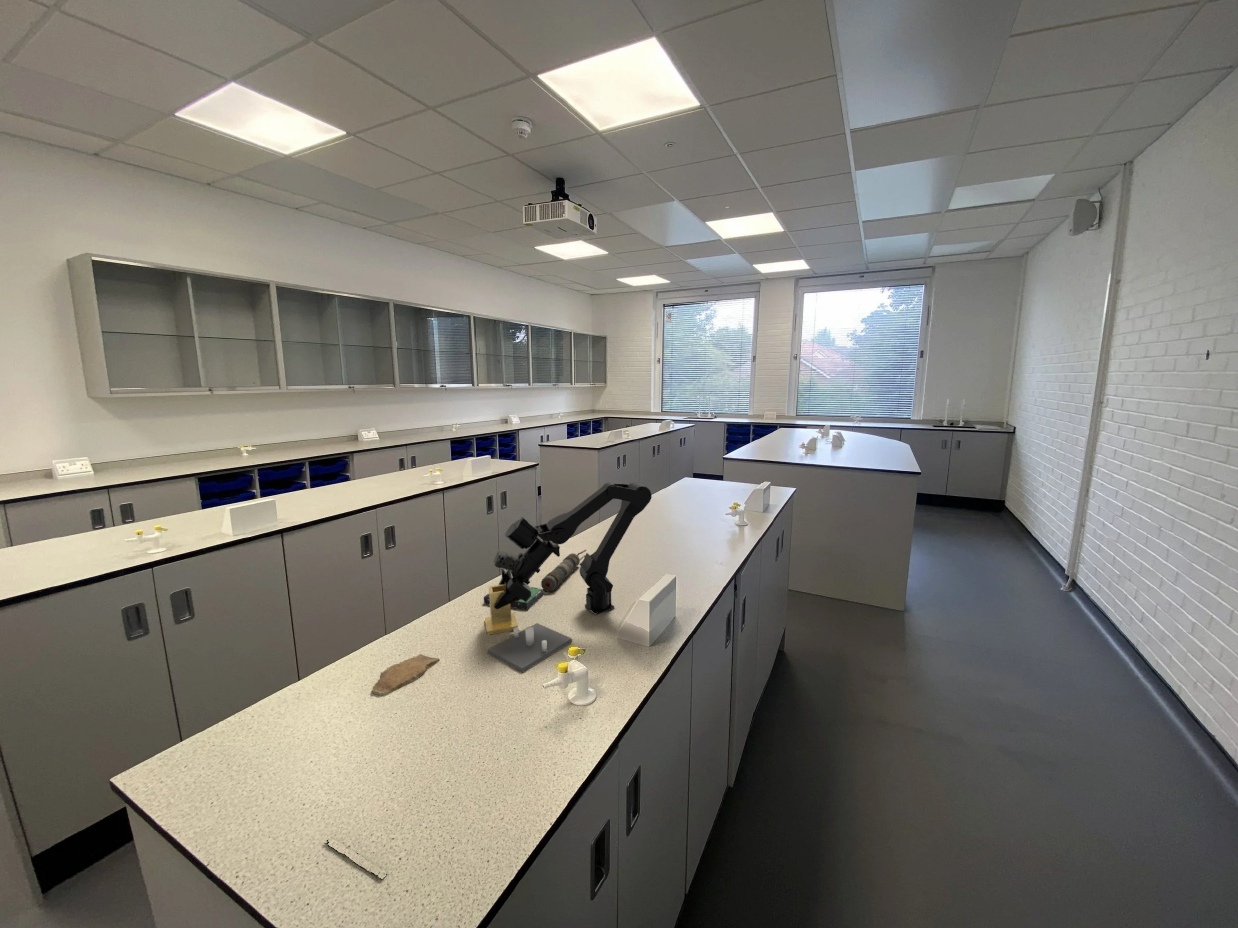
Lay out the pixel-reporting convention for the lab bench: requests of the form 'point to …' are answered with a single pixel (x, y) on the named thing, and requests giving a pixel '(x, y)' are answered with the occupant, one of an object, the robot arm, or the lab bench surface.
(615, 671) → the lab bench surface
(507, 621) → the brass sleeve
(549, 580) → the bomb
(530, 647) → the base plate
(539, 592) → the disk drive
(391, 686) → the pottery shard
